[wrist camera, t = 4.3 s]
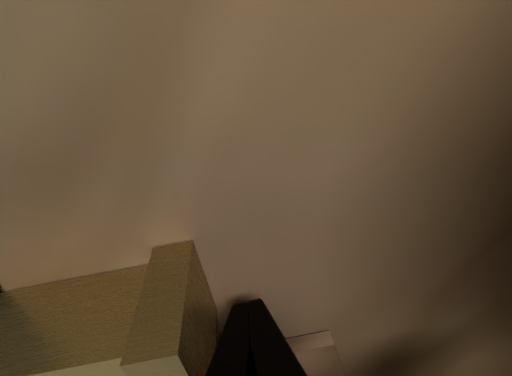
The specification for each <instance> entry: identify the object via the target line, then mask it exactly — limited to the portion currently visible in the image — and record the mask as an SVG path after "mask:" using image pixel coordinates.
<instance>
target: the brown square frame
mask: <svg viewBox="0 0 512 376" xmlns="http://www.w3.org/2000/svg"><path fill="white" fill-rule="evenodd" d="M286 341H287V342H288V344H289V346H290V347H291V349H292V351H293V352H294V354H295V356H296V357H297V359H298V361H299V363H300V364H301V366H302V368H303V369H304V371H305V373H306V374H307V376H345V375H344V372H343V369H342V366H341V363H340V360H339V357H338V354H337V351H336V348H335V345H334V342H333V339H332V336H331V333H330V330H329V331H324V332H319V333H314V334H308V335H303V336H298V337H293V338H288V339H286Z"/></svg>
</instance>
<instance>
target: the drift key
mask: <svg viewBox="0 0 512 376" xmlns="http://www.w3.org/2000/svg"><path fill="white" fill-rule="evenodd" d="M216 321H217V309H216V306H215V303H214V300H213V298H212V295H211V292H210V289H209V286H208V283H207V281H206V278H205V275H204V272H203V269H202V266H201V263H200V261H199V258H198V255H197V252H196V249H195V246H194V244H193V241H192V240H191V241H186V242H181V243H176V244H171V245H165V246H160V247H155V248H153V250H152V254H151V257H150V261H149V264H148V265H143V266H138V267H133V268H128V269H122V270H117V271H112V272H107V273H102V274H96V275H91V276H86V277H81V278H76V279H71V280H65V281H60V282H55V283H50V284H45V285H39V286H34V287H29V288H24V289H19V290H13V291H8V292H3V293H0V376H205V374H206V372H207V369H208V367H209V364H210V362H211V359H212V357H213V354H214V352H215V349H216Z"/></svg>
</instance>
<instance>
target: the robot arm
mask: <svg viewBox="0 0 512 376" xmlns="http://www.w3.org/2000/svg"><path fill="white" fill-rule="evenodd" d="M205 376H307V374H306V373H305V371H304V369H303V368H302V366H301V364H300V363H299V361H298V359H297V357H296V356H295V354H294V352H293V351H292V349H291V347H290V346H289V344H288V342H287V341H286V339H285V337H284V336H283V334H282V332H281V331H280V329H279V327H278V326H277V324H276V322H275V321H274V319H273V317H272V315H271V314H270V312H269V310H268V309H267V307H266V305H265V304H264V302H263V300H262V299H260V298H258V299H253V300H249V301H248V302H247V301H243V302H238V303H235V304H233V306H232V309H231V311H230V314H229V316H228V319H227V321H226V324H225V326H224V329H223V331H222V334H221V336H220V339H219V341H218V344H217V346H216V349H215V352H214V354H213V357H212V359H211V362H210V364H209V367H208V369H207V372H206V374H205Z"/></svg>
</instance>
